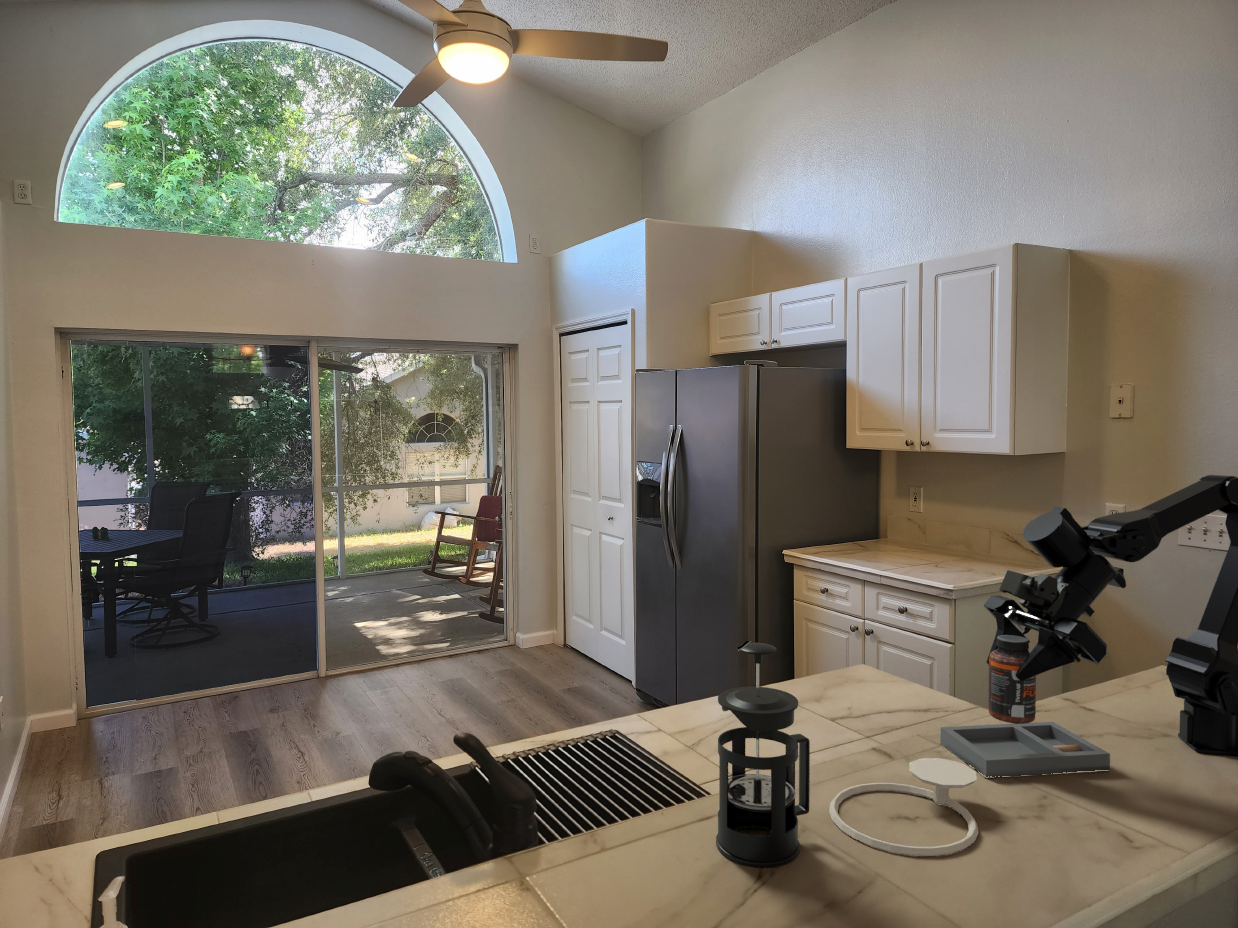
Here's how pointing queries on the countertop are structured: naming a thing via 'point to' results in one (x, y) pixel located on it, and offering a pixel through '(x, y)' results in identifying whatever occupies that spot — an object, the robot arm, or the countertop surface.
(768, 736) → the french press
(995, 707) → the supplement bottle
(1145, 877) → the countertop surface
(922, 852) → the hand towel holder
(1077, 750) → the divided tray
